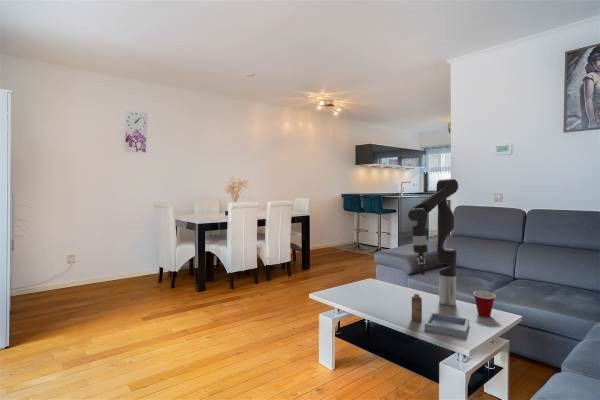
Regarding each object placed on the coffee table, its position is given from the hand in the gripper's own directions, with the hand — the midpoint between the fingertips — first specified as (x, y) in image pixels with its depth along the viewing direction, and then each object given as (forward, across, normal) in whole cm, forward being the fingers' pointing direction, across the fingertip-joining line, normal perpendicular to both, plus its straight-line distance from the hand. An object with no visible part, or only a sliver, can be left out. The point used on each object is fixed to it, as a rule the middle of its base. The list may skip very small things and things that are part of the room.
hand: (422, 273), depth 187 cm
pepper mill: (+22, +12, -5) cm, 26 cm away
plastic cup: (+24, -7, +30) cm, 39 cm away
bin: (+24, +17, +9) cm, 31 cm away
